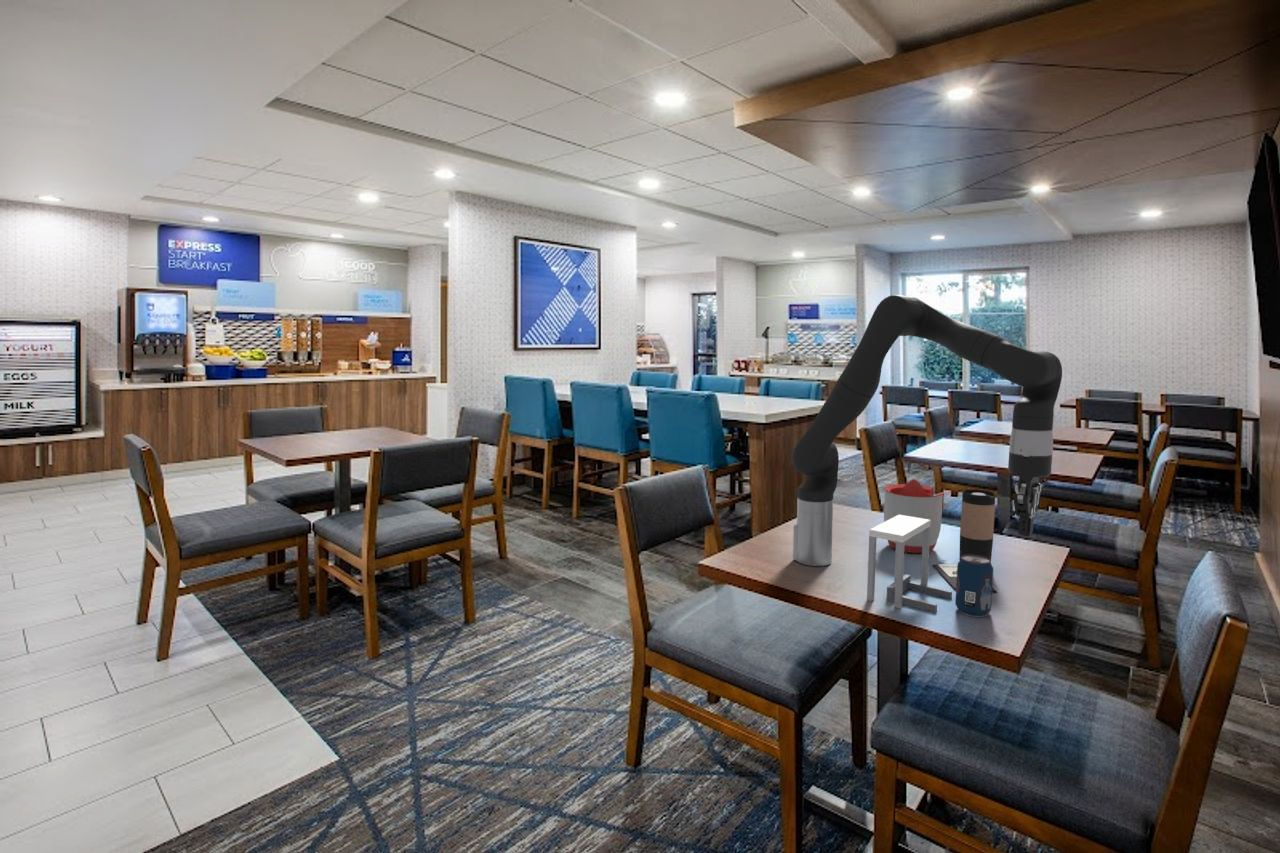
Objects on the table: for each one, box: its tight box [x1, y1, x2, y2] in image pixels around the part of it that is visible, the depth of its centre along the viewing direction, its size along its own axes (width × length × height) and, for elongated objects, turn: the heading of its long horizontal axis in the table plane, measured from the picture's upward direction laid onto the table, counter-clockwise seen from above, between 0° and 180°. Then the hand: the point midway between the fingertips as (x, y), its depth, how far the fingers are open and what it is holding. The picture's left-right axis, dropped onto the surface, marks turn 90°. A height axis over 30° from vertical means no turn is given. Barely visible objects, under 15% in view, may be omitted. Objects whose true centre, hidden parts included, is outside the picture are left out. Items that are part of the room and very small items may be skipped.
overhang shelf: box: [866, 515, 953, 613], centre depth 151 cm, size 14×17×16 cm
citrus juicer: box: [883, 478, 949, 554], centre depth 187 cm, size 16×17×20 cm
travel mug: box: [958, 489, 996, 562], centre depth 170 cm, size 8×8×20 cm
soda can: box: [954, 554, 994, 618], centre depth 143 cm, size 7×7×12 cm
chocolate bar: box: [931, 563, 998, 594], centre depth 164 cm, size 9×1×18 cm
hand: (1025, 534), depth 135 cm, fingers closed
